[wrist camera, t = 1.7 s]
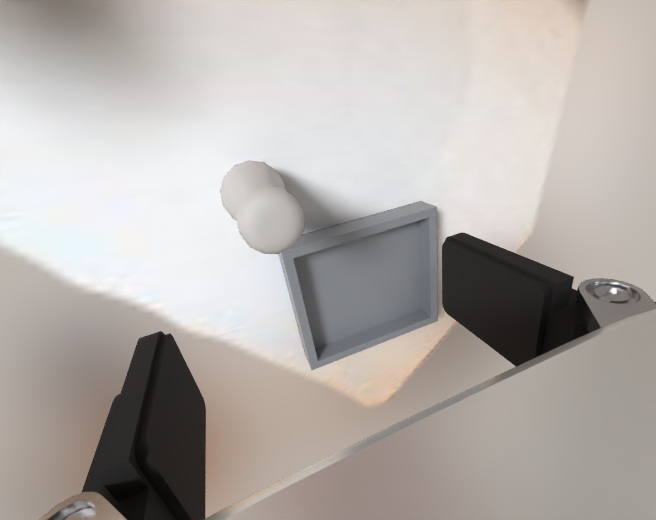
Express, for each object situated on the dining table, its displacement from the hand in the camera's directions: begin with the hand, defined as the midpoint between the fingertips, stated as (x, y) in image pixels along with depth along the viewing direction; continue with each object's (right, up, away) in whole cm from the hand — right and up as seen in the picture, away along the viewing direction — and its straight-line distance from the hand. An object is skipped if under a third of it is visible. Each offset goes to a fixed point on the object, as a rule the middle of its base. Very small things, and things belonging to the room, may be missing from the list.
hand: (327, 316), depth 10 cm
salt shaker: (-8, +9, +20) cm, 23 cm away
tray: (+4, -1, +29) cm, 29 cm away
